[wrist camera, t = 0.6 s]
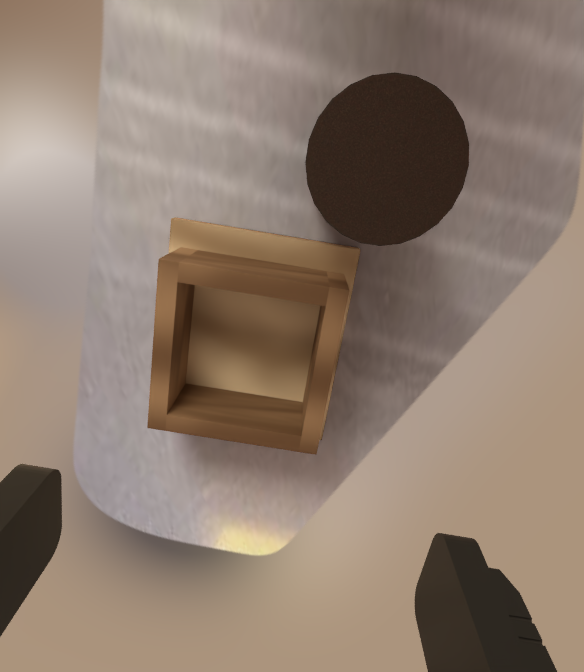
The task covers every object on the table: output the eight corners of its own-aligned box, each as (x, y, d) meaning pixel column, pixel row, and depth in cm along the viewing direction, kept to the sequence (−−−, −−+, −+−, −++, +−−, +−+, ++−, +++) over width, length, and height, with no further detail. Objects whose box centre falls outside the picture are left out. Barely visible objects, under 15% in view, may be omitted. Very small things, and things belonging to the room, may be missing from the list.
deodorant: (415, 171, 31) (502, 166, 17) (347, 233, 33) (376, 277, 19) (356, 99, 30) (397, 31, 16) (289, 168, 32) (271, 161, 17)
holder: (175, 217, 33) (147, 226, 27) (359, 247, 33) (369, 262, 27) (160, 407, 38) (134, 449, 32) (321, 433, 38) (323, 478, 32)
